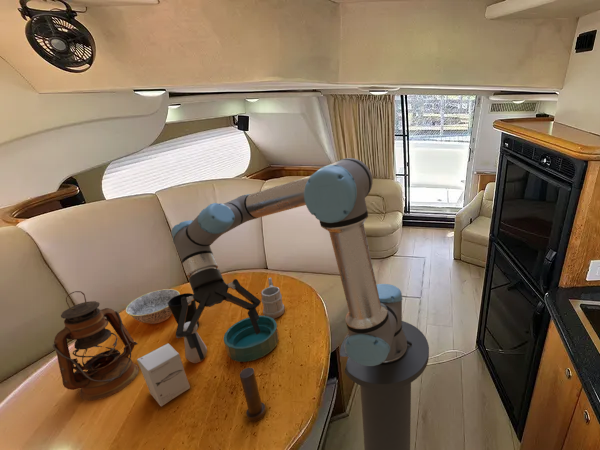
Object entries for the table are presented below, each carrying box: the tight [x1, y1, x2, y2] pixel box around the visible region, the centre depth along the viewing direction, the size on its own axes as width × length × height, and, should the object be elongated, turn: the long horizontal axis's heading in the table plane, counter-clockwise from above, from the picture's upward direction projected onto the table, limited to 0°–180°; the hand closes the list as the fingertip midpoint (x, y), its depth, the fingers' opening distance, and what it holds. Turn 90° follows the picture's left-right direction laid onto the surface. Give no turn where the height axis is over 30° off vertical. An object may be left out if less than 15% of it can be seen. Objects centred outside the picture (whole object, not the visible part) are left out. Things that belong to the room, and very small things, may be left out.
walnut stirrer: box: [239, 367, 267, 423], centre depth 78 cm, size 4×4×14 cm
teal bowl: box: [223, 315, 280, 363], centre depth 102 cm, size 16×16×6 cm
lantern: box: [52, 290, 140, 401], centre depth 84 cm, size 17×13×30 cm
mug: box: [260, 277, 285, 319], centre depth 118 cm, size 8×12×12 cm, turn 21°
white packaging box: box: [136, 343, 191, 408], centre depth 84 cm, size 7×7×13 cm
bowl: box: [125, 288, 181, 325], centre depth 115 cm, size 16×16×8 cm
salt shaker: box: [183, 321, 208, 364], centre depth 95 cm, size 6×6×13 cm
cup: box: [168, 292, 200, 328], centre depth 109 cm, size 8×8×12 cm
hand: (232, 345), depth 81 cm, fingers open, 13 cm apart
